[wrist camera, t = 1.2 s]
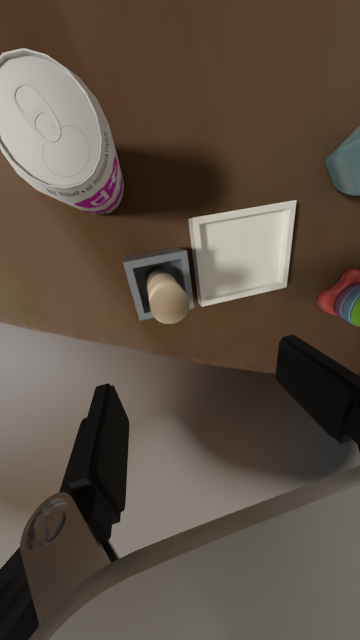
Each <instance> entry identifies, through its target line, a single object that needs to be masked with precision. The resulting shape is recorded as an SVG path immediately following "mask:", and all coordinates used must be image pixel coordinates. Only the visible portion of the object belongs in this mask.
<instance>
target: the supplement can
mask: <svg viewBox="0 0 360 640" xmlns="http://www.w3.org/2000/svg"><path fill="white" fill-rule="evenodd" d="M0 149H1V151H2V153H3V154H4V155H5V157H6V158H7V160H8V161H9V162H10V164H11V165H12V167H13V168H14V169H15V171H16V172H17V174H19V175H20V176H21V177H22V178H23V179H24V180H26V181H27V182H28V183H29V184H30V185H31V186H33V187H34V188H35V189H36V190H38V191H40V192H42V193H44V194H46V195H49V196H51V197H53V198H55V199H57V200H59V201H62V202H64V203H66V204H69V205H71V206H73V207H76V208H78V209H80V210H83V211H85V212H87V213H89V214H94V215H104V214H108V213H111V212H112V211H113V210H114V209H116V208H117V207H118V206H119V204H120V202H121V200H122V198H123V191H124V182H123V177H122V172H121V168H120V164H119V161H118V157H117V153H116V150H115V146H114V142H113V139H112V135H111V131H110V127H109V124H108V122H107V120H106V117H105V115H104V113H103V111H102V109H101V107H100V105H99V102H98V100H97V99H96V97H95V96H94V95H93V94H92V92H91V91H90V90H89V89H88V88H87V86H86V85H85V84H84V83H83V81H82V80H81V79H80V78H79V77H78V76H77V75H75V74H74V73H73V72H71V71H70V70H68V69H67V68H66V67H64V66H63V65H61V64H60V63H58V62H57V61H55V60H54V59H52V58H51V57H49V56H48V55H46V54H43V53H39V52H36V51H32V50H28V49H25V48H22V49H17V50H13V51H8V52H4V53H2V54H1V55H0Z"/></svg>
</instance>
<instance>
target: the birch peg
mask: <svg viewBox="0 0 360 640" xmlns="http://www.w3.org/2000/svg"><path fill="white" fill-rule="evenodd" d="M146 284H147V290H148V297H149V303H150V309H151V313H152V315H153V316H154V317H155V319H157V320H158V321H159V322H162V323H165V324H173V323H176V322H179V321H180V320H182V319H183V318H184V317H185V316H186V314H187V313H188V310H189V306H190V302H189V298H188V296H187V294H186V293H185V292H184V290H183V289H182V288H181V287H180V286H179V284H178V283H177V282H176V281H175V279H174V278H173V277H172V276H171V274H170V273H169V272H168V271H167V270H166V269H165V268H164V267H161V266H155V267H152V268H151V269H149V271H148V272H147V274H146Z"/></svg>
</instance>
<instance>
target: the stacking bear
mask: <svg viewBox="0 0 360 640" xmlns="http://www.w3.org/2000/svg"><path fill="white" fill-rule="evenodd" d="M317 305H318V306H319V308H320V309H321V310H322V311H323V312H325V313H327V314H331V315H338V316H340V317H341V318H343V319H345V320H346V321H348V322H349V323H351V324H353V325H356V326H358V327H360V271H359V270H358V269H348V270H347V271H346V272H344V273H343V274H342V276H341V278H340V279H339V281H338V282H337V283H336V284H335V285H334V286H333V287H331V288H329V289H326V290H324V291H322V292H321V294H319V295H318V298H317Z"/></svg>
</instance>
